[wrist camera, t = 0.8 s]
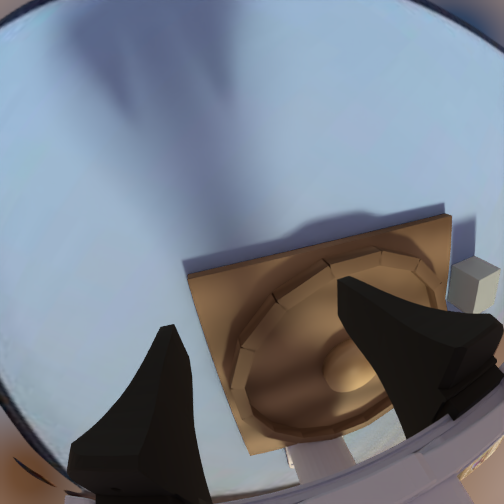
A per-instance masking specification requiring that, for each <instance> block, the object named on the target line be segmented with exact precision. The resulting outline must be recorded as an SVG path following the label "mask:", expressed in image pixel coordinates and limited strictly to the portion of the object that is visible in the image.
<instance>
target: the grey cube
mask: <svg viewBox="0 0 504 504" xmlns="http://www.w3.org/2000/svg"><path fill="white" fill-rule="evenodd" d="M500 270H501V269H500V268H498V267H496V266H494V265H492V264H490V263H488V262H486V261H484V260H482V259H480V258H478V257H476V256H473V257H470V258H468V259H466V260H463V261H461V262H459V263H456V264H454V265H452V269H451V277H450V285H449V292H448V299H447V301H448V302H450V303H451V304H453V305H454V306H456V307H457V308H458V309H460V310H461V311H463V312H464V313H473V314H479V313H481V312H482V311H484V310H486V309H487V308H489V307H490V306H492V305H493V304H494V300H495V296H496V291H497V286H498V281H499V276H500Z"/></svg>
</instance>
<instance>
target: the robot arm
mask: <svg viewBox="0 0 504 504" xmlns="http://www.w3.org/2000/svg"><path fill="white" fill-rule="evenodd" d="M337 308H338V317H339V319H340V321H341V323H342V325H343V326H344V328H345V330H346V332H347V333H348V335H349V336H350V338H351V339H352V340H353V342H354V343H355V344H356V346H357V347H358V348H359V350H360V351H361V353H362V354H363V355H364V357H365V358H366V359H367V361H368V362H369V363H370V365H371V366H372V368H373V369H374V371H375V372H376V374H377V376H378V378H379V379H380V381H381V383H382V385H383V387H384V389H385V391H386V393H387V395H388V397H389V399H390V401H391V403H392V405H393V407H394V409H395V412H396V414H397V416H398V418H399V421H400V423H401V426H402V428H403V431H404V434H405V436H406V439H407V440H405V441H403V442H401V443H399V444H398V445H396V446H394V447H392V448H390V449H388V450H386V451H384V452H382V453H380V454H378V455H376V456H374V457H372V458H370V459H368V460H365V461H363V462H361V463H359V464H356V463H355V461H354V459H353V457H352V455H351V453H350V451H349V449H348V447H347V445H346V443H345V441H344V439H343V436H341V437H338V438H335V439H332V440H325V441H317V442H309V443H297V444H296V445H292V446H288V447H285V449H286V454H287V458H288V463H289V467H290V468H295V470H296V473H297V476H298V479H299V482H300V484H301V485H299V486H296V487H292V488H289V489H285V490H281V491H278V492H274V493H270V494H265V495H261V496H256V497H252V498H247V499H241V500H236V501H230V502H223V503H216V504H474V503H473V501H472V500H471V498H470V496H469V495H468V493H467V491H466V490H465V488H464V487H463V485H462V483H461V482H460V480H459V479H458V477H457V475H458V474H460V473H461V472H462V471H463V470H465V469H466V468H467V467H469V466H470V465H471V464H472V463H473V462H475V461H476V460H477V459H478V458H479V457H480V456H482V455H483V454H484V453H485V452H486V451H487V450H488V449H489V448H491V447H492V446H493V445H494V444H495V443H496V442H497V441H498V440H499V439H500V438H501V437H502V436H503V435H504V363H503V364H502V365H501V366H500V367H499V368H498V367H497V366H496V365H495V364H496V363H497V359H496V358H495V357H494V356H493V354H494V352H495V350H496V348H497V346H498V344H499V342H500V339H501V337H502V334H503V325H502V324H501V323H500V322H499V321H498V320H497V319H496V318H495V317H493V316H492V315H491V314H473V313H460V312H451V311H445V310H440V309H435V308H431V307H427V306H423V305H420V304H416V303H413V302H410V301H407V300H404V299H402V298H399V297H396V296H394V295H392V294H389V293H387V292H385V291H382V290H380V289H378V288H376V287H373V286H371V285H369V284H367V283H365V282H363V281H360V280H358V279H356V278H354V277H351V276H346V277H343V278H340V279H337ZM67 474H68V475H69V477H70V478H71V479H72V480H73V481H75V482H76V483H77V484H79V485H81V486H82V487H84V488H86V489H87V490H89V491H91V492H93V493H94V494H96V501H95V500H92V499H87V498H81V497H74V496H68V495H67V496H65V503H64V504H213V503H212V500H211V496H210V493H209V490H208V487H207V483H206V479H205V476H204V472H203V468H202V464H201V459H200V454H199V450H198V445H197V439H196V434H195V428H194V415H193V386H192V372H191V366H190V359H189V356H188V354H187V351H186V349H185V347H184V345H183V343H182V341H181V338H180V336H179V334H178V332H177V329H176V327H175V325H174V324H172V325H167V326H163V327H160V329H159V331H158V333H157V335H156V337H155V339H154V341H153V343H152V345H151V347H150V349H149V351H148V353H147V355H146V357H145V359H144V361H143V362H142V364H141V366H140V368H139V369H138V371H137V373H136V375H135V376H134V378H133V380H132V381H131V383H130V384H129V386H128V387H127V388H126V390H125V391H124V393H123V394H122V395H121V397H120V398H119V399H118V400H117V401H116V403H115V404H114V405H113V406H112V407H111V408H110V410H109V411H108V412H107V413H106V414H105V415H104V416H103V417H102V418H101V419H100V420H99V421H98V422H97V423H96V424H95V425H94V426H93V427H92V428H90V429H89V430H88V431H87V432H86V433H84V434H83V435H82V436H81V437H79V438H78V439H77V440H76V441H74V442H73V443H71V448H70V454H69V460H68V467H67Z"/></svg>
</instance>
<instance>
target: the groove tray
mask: <svg viewBox="0 0 504 504" xmlns="http://www.w3.org/2000/svg"><path fill="white" fill-rule="evenodd" d="M451 231H452V216H451V215H448V214H441V215H437V216H433V217H429V218H425V219H421V220H417V221H413V222H409V223H404V224H400V225H396V226H392V227H388V228H384V229H380V230H376V231H371V232H367V233H363V234H359V235H355V236H351V237H346V238H342V239H338V240H334V241H330V242H325V243H321V244H317V245H313V246H308V247H304V248H300V249H296V250H291V251H287V252H283V253H279V254H274V255H270V256H266V257H261V258H257V259H253V260H249V261H244V262H240V263H236V264H231V265H227V266H223V267H218V268H214V269H209V270H205V271H201V272H196V273H192V274H188V279H187V280H188V283H189V287H190V290H191V294H192V297H193V300H194V303H195V307H196V310H197V313H198V316H199V319H200V323H201V326H202V329H203V332H204V335H205V338H206V341H207V344H208V347H209V350H210V353H211V356H212V358H213V361H214V364H215V367H216V370H217V373H218V375H219V378H220V381H221V384H222V386H223V389H224V392H225V394H226V397H227V400H228V402H229V405H230V407H231V410H232V413H233V415H234V418H235V420H236V423H237V425H238V428H239V430H240V433H241V435H242V437H243V440H244V442H245V445H246V447H247V449H248V452H249V454H250V456H251V455H256V454H260V453H265V452H269V451H273V450H277V449H281V448H285V447H288V446H292V445H296V444H297V443H309V442H317V441H325V440H332V439H335V438H338V437H341V436H343V435H346V434H348V433H351V432H354V431H356V430H358V429H361V428H363V427H366V426H367V425H369V424H371V423H372V422H374V421H375V420H377V419H378V418H380V417H381V416H383V415H384V414H386V413H387V412H389V411H390V410H391V409H393V408H394V407H393V405H392V403H391V401H390V399H389V397H388V395H387V393H386V391H385V389H384V387H383V385H382V383H381V381H380V379H379V378H378V376H377V374H376V372H375V371H374V369H373V368H372V366H371V365H370V363H369V362H368V361H367V359H366V358H365V357H364V355H363V354H362V353H361V351H360V350H359V348H358V347H357V346H356V344H355V343H354V342H353V340H352V339H351V338H350V336H349V335H348V333H347V332H346V330H345V328H344V326H343V325H342V323H341V321H340V319H339V317H338V308H337V279H340V278H343V277H346V276H351V277H354V278H356V279H358V280H360V281H363V282H365V283H367V284H369V285H371V286H373V287H376V288H378V289H380V290H382V291H385V292H387V293H389V294H392V295H394V296H396V297H399V298H402V299H404V300H407V301H410V302H413V303H416V304H420V305H423V306H427V307H431V308H435V309H440V310H445V311H447V306H446V300H445V295H446V288H447V280H448V272H449V261H450V249H451Z"/></svg>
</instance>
